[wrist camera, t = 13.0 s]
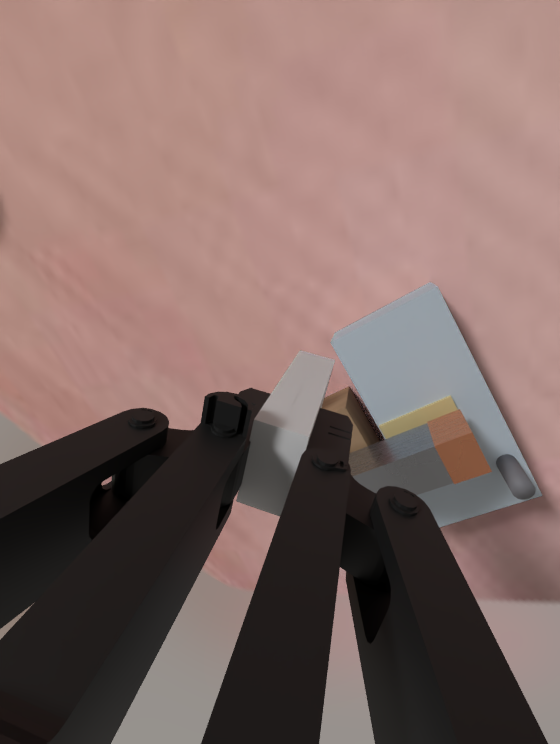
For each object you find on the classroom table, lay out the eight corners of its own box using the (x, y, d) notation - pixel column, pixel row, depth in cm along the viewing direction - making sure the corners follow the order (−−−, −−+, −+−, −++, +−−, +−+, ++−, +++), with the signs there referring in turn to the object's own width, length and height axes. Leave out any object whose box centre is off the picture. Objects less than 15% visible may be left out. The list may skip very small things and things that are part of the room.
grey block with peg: (430, 281, 25) (446, 292, 20) (525, 470, 27) (564, 527, 22) (334, 332, 28) (325, 354, 22) (429, 502, 30) (442, 561, 24)
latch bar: (310, 510, 27) (300, 555, 23) (285, 469, 27) (270, 507, 23) (481, 451, 23) (503, 493, 19) (456, 401, 23) (473, 433, 19)
